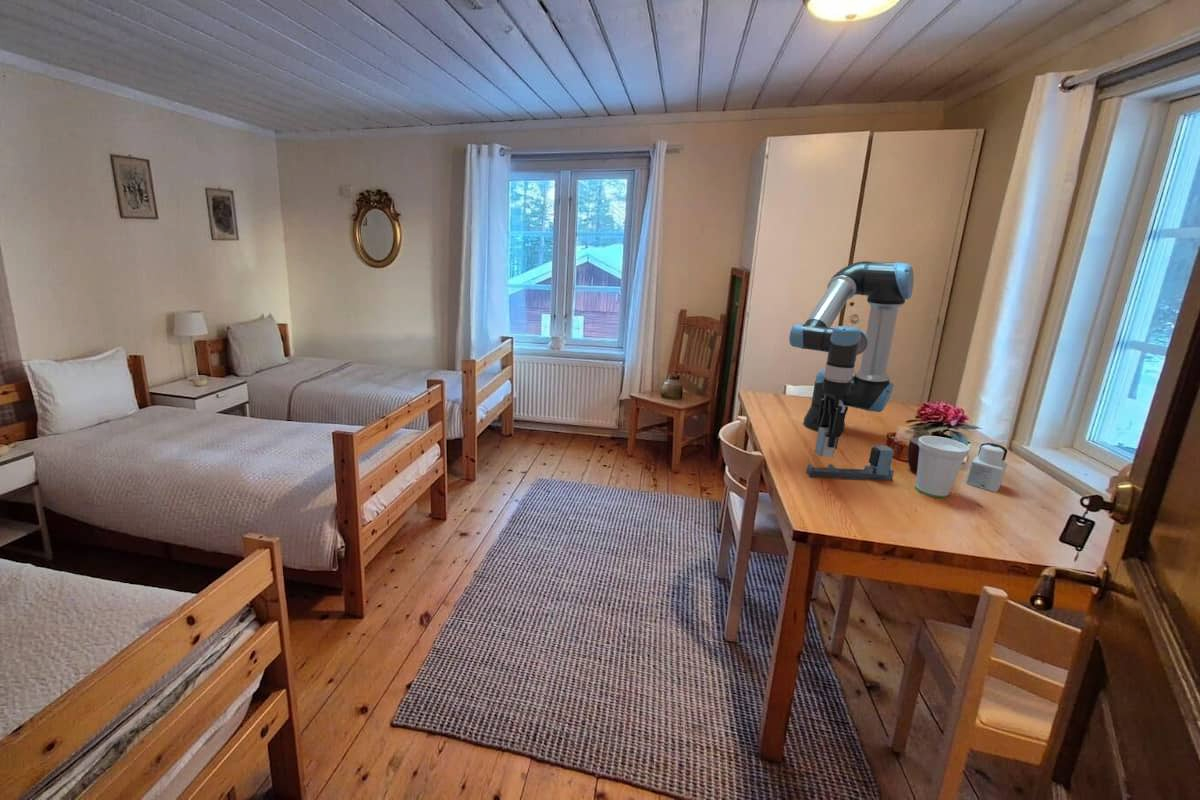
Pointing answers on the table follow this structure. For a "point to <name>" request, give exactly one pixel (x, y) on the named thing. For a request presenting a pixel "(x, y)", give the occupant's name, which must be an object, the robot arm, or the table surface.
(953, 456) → the cup
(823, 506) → the table surface
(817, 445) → the finger right
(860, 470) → the rail
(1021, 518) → the table surface
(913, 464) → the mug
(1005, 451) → the container
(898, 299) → the robot arm
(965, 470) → the table surface
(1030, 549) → the table surface
